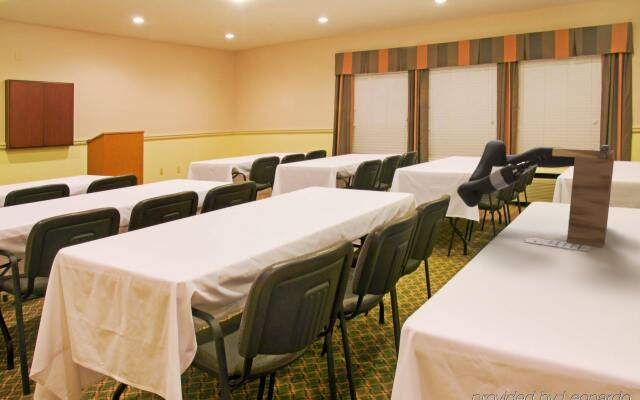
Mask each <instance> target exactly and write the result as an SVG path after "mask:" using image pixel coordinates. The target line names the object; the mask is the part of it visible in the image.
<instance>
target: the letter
mask: <svg viewBox="0 0 640 400" xmlns="http://www.w3.org/2000/svg"><path fill="white" fill-rule="evenodd" d="M524 243H527V244H534V245H538V246H546V247H554V248H560V249H564V250H565V249H566V250H570V251H571V250H572V251H578V252H583V253H584V252H585V253H588V251H589V250H590V249H591V248H592V246H588V245H581V244H575V243H568V242H565V241H564V242H563V241H558V240H552V239H551V240H550V239H543V238H538V237H529V238H528V239H527V240H525V241H524Z"/></svg>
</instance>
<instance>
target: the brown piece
mask: <svg viewBox="0 0 640 400" xmlns="http://www.w3.org/2000/svg"><path fill="white" fill-rule="evenodd" d="M599 148H600V156H599V158H582V157H575V160H574V166H573V174H572V183H571V184H572V185H571V194H570V205H569V214H568V215H569V216H568V217H569V218H568V224H567V225H568V227H567V237H566V243H571V244H578V245H585V246H591V247H596V248H601V249H603V248H604V247H605V245H606V238H607V230H608V222H609V221H608V220H609V219H608V218H609V211H610V203H611V202H610V200H611V192H612V191H611V190H612V182H613V173H614V165H615V158H614V159H606V154H607V150H609V151H610V144H603V145H602V144H601V145H600V147H599Z"/></svg>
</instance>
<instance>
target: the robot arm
mask: <svg viewBox="0 0 640 400" xmlns="http://www.w3.org/2000/svg"><path fill="white" fill-rule="evenodd" d="M553 148H561V147H560V146H559V147H557V146H543V145H542V146H535V147H533V148H530V149H528V150H526V151H524V152H521V153H518V154H507V145H506V143H505V142H504V141H503V140H500V139H494V140H490V141H488V142H487V143H486V144H485V147H484V150H483V152H482V155H481V157H480V160H479V162H478V163H477V166H476V168H475V169H474V170H473V172H472V174H471V176H470V177H469V179H468V180H467V182H464V183H462V184H460V185H459V186H458V187H457V189H456V193H457V195H458V196H459V198H460V199H461V200H462V201H463V203H464V204H465V205H466V206H467V207H469V208H474V207H477V206H478V205H479V204H480V203H481V201H482V199H483V195H486V196H489V195H491V194H493V193H495V192H497V191H499V190H503V189H505V188H507V187H509V186H511V185H513V184H516V183H518V182H520V180H521V177H520V175H523V174H524V175H525V174H527V173H528V172H529V171H531V170H533V169H534V168H546V169H555V168H556V169H558V168H559V169H560V168H570V167H574V160H575V157H564V156H552V152H553ZM566 149H569V148H566ZM586 149H587V150H600V147H599V148H598V147H597V148H586ZM496 167H497V168H499V169H496V170H495V171H493V172H492V170H493V168H496Z"/></svg>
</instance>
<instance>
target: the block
mask: <svg viewBox="0 0 640 400" xmlns="http://www.w3.org/2000/svg"><path fill="white" fill-rule="evenodd" d="M587 149H588V148H586V149H582V148H568V149H566V148H565V147H560V148H553V152H552V156H564V157H582V158H599V156H600V150H587ZM606 159H614V160H615V150H610V149H609V150H607V154H606Z"/></svg>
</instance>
